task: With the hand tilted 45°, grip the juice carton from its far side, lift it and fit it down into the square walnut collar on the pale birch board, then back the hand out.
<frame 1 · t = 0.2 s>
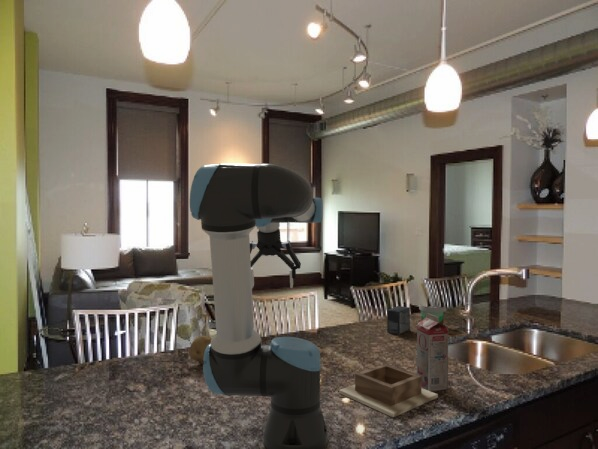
hand: (272, 286, 153), 28 cm above the worktop, tool tilted 20°, fingers open, 13 cm apart
birch collar board: (387, 395, 130), on the worktop
small box: (398, 332, 199), on the worktop
juice carton: (431, 386, 137), on the worktop
food container: (432, 328, 205), on the worktop
natural sponge: (202, 364, 156), on the worktop
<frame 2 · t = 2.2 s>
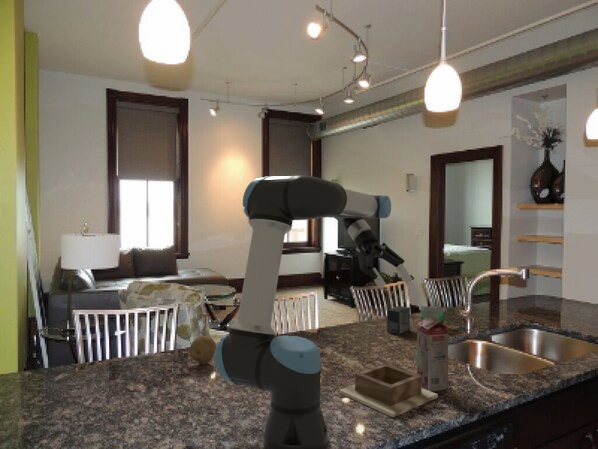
hand: (396, 283, 146), 30 cm above the worktop, tool tilted 45°, fingers open, 13 cm apart
nothing on the worktop moved.
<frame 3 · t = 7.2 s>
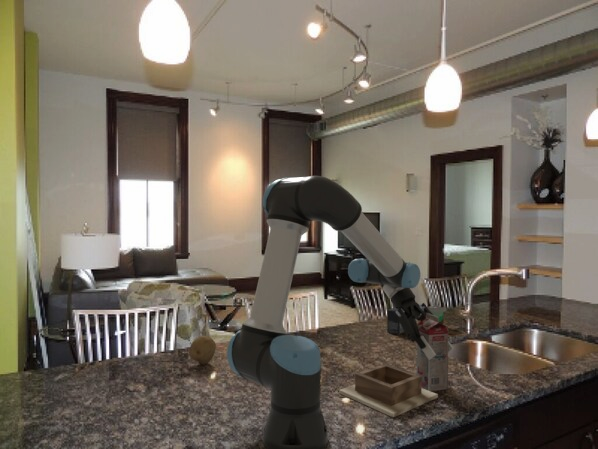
hand: (441, 353, 134), 11 cm above the worktop, tool tilted 45°, fingers closed on juice carton, 9 cm apart
juice carton: (431, 386, 137), on the worktop, touching gripper
everything else where it was.
when the fingers open (13 cm above the worktop, at t = 13.8 s): juice carton drops 1 cm, resting on birch collar board.
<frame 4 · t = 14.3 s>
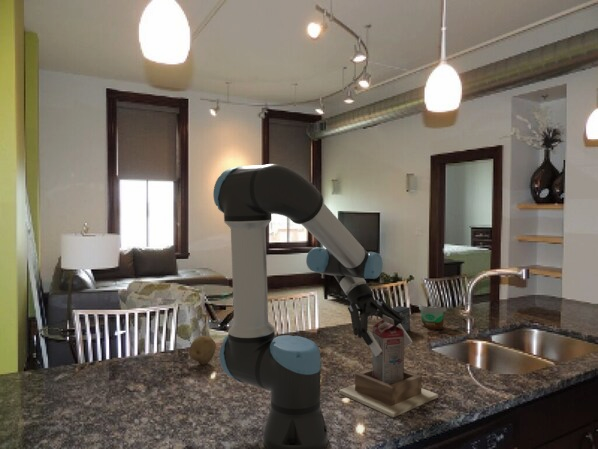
hand: (394, 349, 128), 14 cm above the worktop, tool tilted 45°, fingers open, 13 cm apart
juice carton: (387, 392, 130), point 1 cm above the worktop, touching birch collar board
everything else where it was.
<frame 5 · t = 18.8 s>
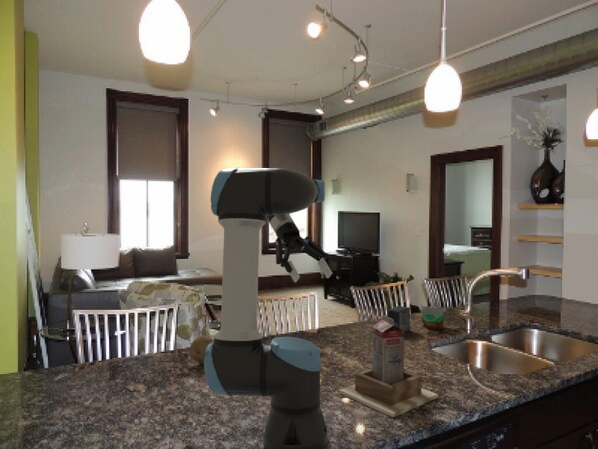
hand: (314, 277, 141), 33 cm above the worktop, tool tilted 45°, fingers open, 13 cm apart
nothing on the worktop moved.
at the end: juice carton 0.1 cm off-centre on the birch collar board, point 0.8 cm above the birch collar board's base; juice carton tilted 0°; the gripper is holding nothing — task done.
